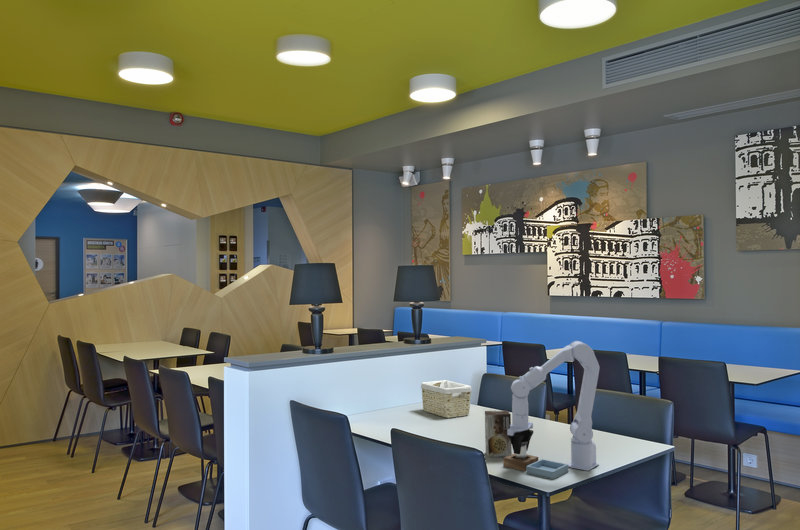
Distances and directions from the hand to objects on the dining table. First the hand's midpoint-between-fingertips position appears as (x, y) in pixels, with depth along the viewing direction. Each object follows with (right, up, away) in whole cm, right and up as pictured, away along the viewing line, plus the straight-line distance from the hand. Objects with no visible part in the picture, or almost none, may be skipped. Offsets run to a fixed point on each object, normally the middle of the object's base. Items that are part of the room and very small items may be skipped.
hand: (520, 452), depth 223 cm
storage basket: (-20, -7, +89) cm, 91 cm away
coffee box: (-6, -6, +14) cm, 16 cm away
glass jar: (0, -5, 0) cm, 5 cm away
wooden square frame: (0, -5, 0) cm, 5 cm away
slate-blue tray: (+8, -5, -8) cm, 12 cm away
